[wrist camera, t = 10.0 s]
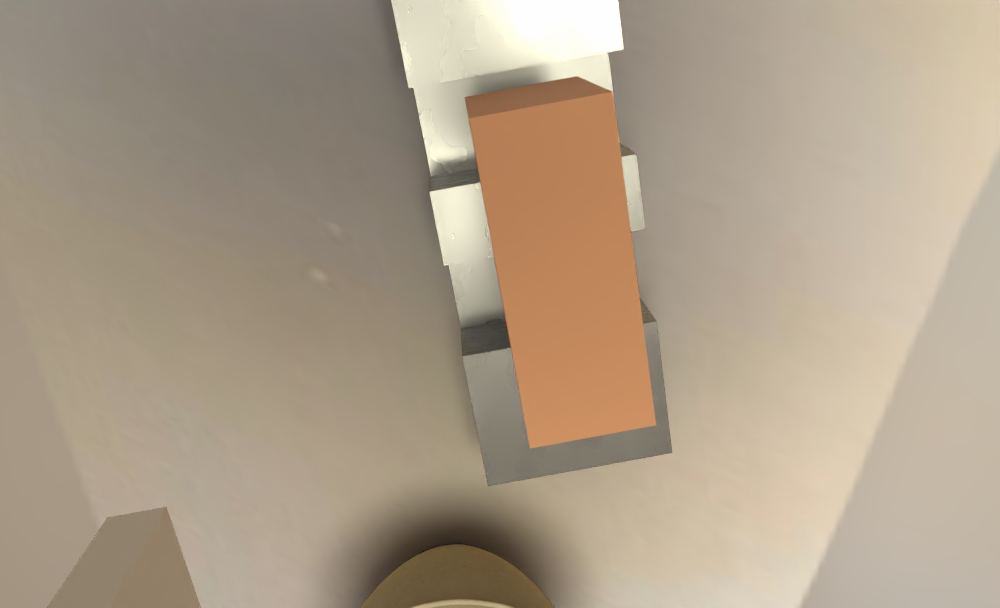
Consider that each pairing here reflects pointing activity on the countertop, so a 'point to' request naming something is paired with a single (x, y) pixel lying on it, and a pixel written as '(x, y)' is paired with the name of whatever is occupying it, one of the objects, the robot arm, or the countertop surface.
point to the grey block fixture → (461, 212)
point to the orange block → (564, 257)
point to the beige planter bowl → (457, 582)
